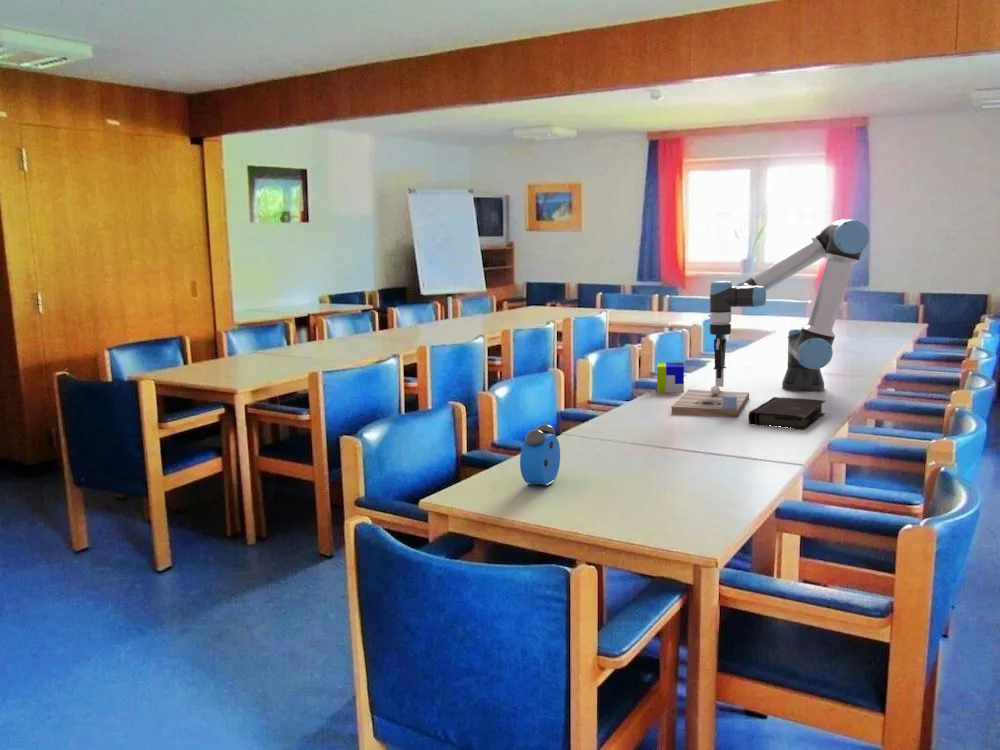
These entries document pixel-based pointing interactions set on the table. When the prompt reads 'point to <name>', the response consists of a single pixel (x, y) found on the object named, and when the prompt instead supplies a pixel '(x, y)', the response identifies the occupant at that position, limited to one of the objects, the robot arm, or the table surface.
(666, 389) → the puzzle toy
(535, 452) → the alarm clock
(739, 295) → the robot arm
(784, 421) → the diary
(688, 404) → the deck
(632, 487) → the table surface
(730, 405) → the blue block
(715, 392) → the ball
